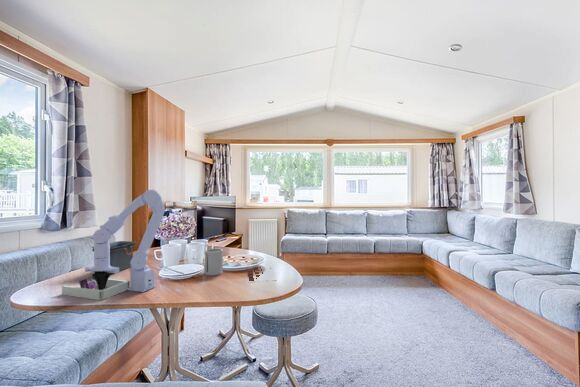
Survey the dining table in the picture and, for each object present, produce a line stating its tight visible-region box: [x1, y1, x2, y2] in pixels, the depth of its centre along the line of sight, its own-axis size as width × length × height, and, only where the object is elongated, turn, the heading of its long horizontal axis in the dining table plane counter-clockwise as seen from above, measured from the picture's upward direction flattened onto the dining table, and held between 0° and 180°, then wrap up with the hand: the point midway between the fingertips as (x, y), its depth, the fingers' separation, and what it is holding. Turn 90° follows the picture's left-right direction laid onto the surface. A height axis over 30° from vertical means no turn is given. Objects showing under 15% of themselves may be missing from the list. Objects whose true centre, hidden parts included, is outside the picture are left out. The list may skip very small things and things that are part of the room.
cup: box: [204, 248, 224, 276], centre depth 158 cm, size 9×9×12 cm
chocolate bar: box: [246, 266, 263, 281], centre depth 157 cm, size 27×14×1 cm, turn 10°
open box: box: [61, 278, 130, 301], centre depth 128 cm, size 21×14×4 cm, turn 73°
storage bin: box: [91, 240, 137, 275], centre depth 161 cm, size 21×16×14 cm
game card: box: [78, 276, 99, 290], centre depth 127 cm, size 7×5×9 cm
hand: (102, 289), depth 127 cm, fingers closed
